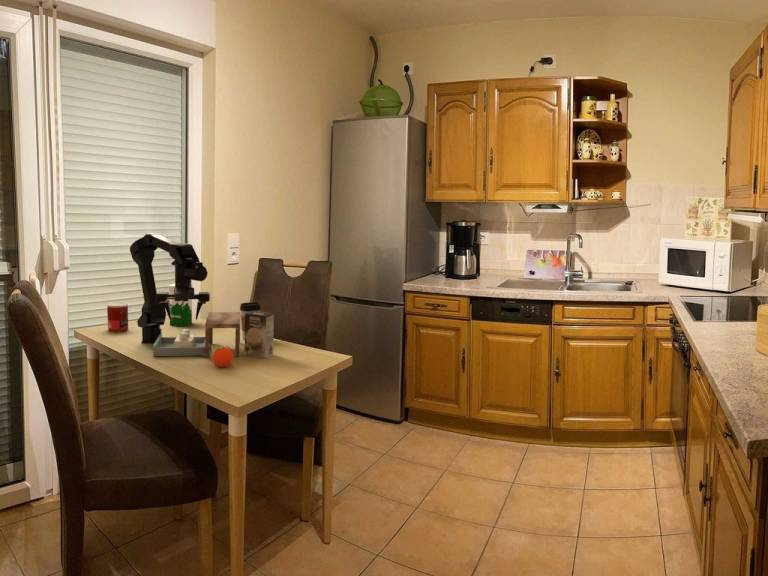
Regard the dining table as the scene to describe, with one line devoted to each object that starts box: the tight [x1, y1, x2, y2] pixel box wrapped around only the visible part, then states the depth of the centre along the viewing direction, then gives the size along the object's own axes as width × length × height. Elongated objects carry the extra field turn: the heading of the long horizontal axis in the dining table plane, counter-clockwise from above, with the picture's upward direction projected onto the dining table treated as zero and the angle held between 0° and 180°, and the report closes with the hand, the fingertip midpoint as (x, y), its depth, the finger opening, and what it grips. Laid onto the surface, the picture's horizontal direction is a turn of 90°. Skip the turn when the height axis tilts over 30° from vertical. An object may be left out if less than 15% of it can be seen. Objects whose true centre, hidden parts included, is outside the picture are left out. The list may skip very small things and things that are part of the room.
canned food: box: [106, 302, 129, 333], centre depth 242 cm, size 8×8×11 cm
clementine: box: [210, 346, 234, 368], centre depth 198 cm, size 8×7×7 cm
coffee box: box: [244, 310, 275, 359], centre depth 214 cm, size 9×6×16 cm
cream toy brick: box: [174, 328, 196, 347], centre depth 216 cm, size 6×9×6 cm, turn 11°
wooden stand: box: [204, 311, 241, 359], centre depth 219 cm, size 12×21×12 cm, turn 14°
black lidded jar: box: [239, 302, 261, 341], centre depth 237 cm, size 8×8×15 cm
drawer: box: [152, 334, 205, 357], centre depth 216 cm, size 18×16×4 cm
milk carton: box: [167, 283, 193, 327], centre depth 257 cm, size 9×9×20 cm
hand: (183, 319), depth 215 cm, fingers open, 9 cm apart
